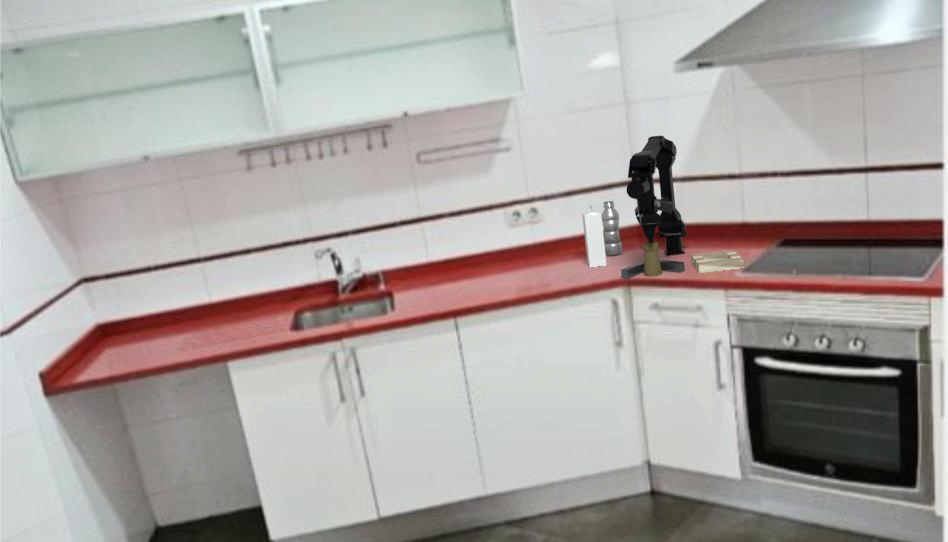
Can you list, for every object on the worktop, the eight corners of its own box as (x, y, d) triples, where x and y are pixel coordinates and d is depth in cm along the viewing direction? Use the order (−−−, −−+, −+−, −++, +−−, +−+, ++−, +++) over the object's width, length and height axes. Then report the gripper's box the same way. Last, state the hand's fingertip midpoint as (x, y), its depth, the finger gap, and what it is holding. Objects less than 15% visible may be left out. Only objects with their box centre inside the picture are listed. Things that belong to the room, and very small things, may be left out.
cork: (661, 270, 270) (658, 238, 268) (663, 275, 265) (660, 242, 262) (642, 272, 271) (639, 240, 269) (644, 277, 265) (641, 244, 263)
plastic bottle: (609, 252, 306) (604, 200, 302) (625, 252, 302) (620, 200, 298) (601, 256, 301) (596, 204, 297) (618, 257, 297) (612, 203, 293)
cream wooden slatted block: (691, 263, 274) (691, 254, 273) (734, 258, 272) (733, 249, 272) (699, 273, 260) (698, 264, 260) (744, 268, 259) (743, 259, 258)
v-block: (619, 270, 278) (618, 262, 277) (679, 263, 275) (679, 255, 275) (622, 279, 267) (621, 270, 266) (685, 272, 264) (684, 263, 264)
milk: (590, 268, 287) (582, 207, 282) (587, 264, 293) (580, 204, 288) (607, 265, 287) (600, 204, 282) (604, 262, 293) (597, 202, 288)
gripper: (675, 194, 252) (679, 243, 255) (666, 186, 270) (670, 231, 273) (638, 198, 253) (643, 247, 256) (632, 190, 271) (636, 235, 274)
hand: (649, 240), depth 265 cm, fingers open, 9 cm apart
